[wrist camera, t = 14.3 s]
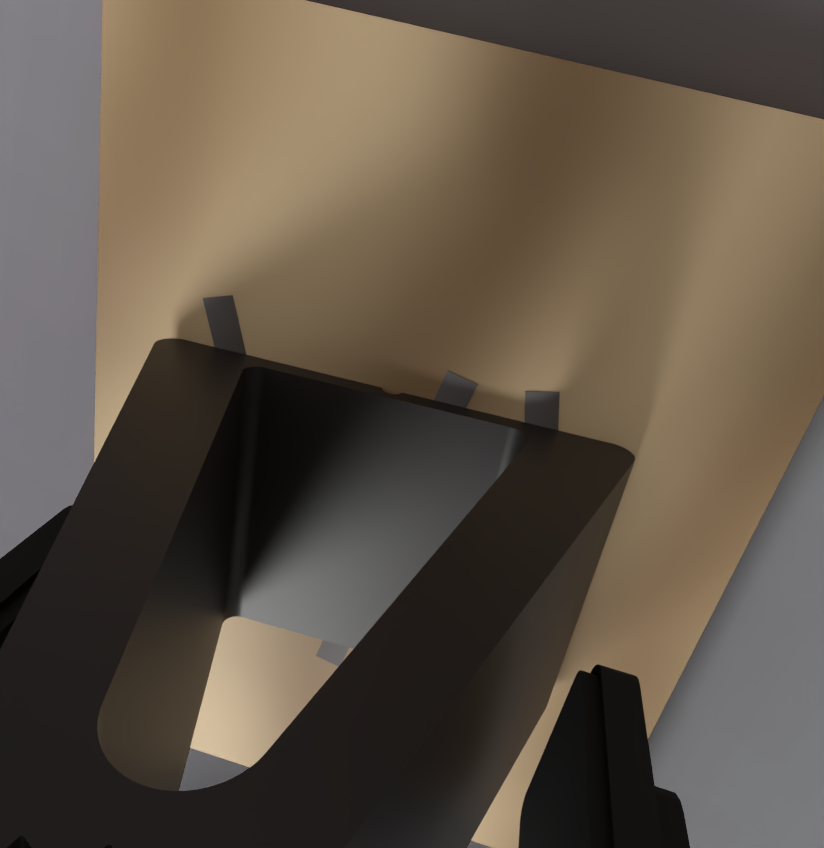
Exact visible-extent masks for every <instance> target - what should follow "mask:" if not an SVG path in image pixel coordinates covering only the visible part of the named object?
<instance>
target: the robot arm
mask: <svg viewBox="0 0 824 848" xmlns="http://www.w3.org/2000/svg"><path fill="white" fill-rule="evenodd" d="M72 506H73V505H72ZM72 506H68V507H67V508H65V509H63V510H62V511H61V512H59V513H58V514H57V515H56V516H54V517H53V518H52V519H51V520H49V521H48V522H47V523H45V524H44V525H43V526H42V527H40V528H39V529H38V530H37V531H35V532H34V533H33V534H31V535H30V536H29V537H28V538H26V539H25V540H24V541H22V542H21V543H20V544H19V545H17V546H16V547H15V548H14V549H12V550H11V551H10V552H8V553H7V554H6V555H5V556H3V557H2V558H1V559H0V649H1V647H2V645H3V643H4V641H5V639H6V637H7V635H8V633H9V631H10V629H11V627H12V625H13V623H14V621H15V619H16V617H17V615H18V613H19V611H20V609H21V607H22V605H23V603H24V601H25V599H26V597H27V595H28V593H29V591H30V589H31V587H32V585H33V583H34V581H35V579H36V577H37V575H38V573H39V571H40V569H41V567H42V565H43V563H44V561H45V559H46V557H47V555H48V553H49V552H50V550H51V548H52V546H53V544H54V542H55V540H56V538H57V536H58V534H59V532H60V530H61V528H62V526H63V524H64V522H65V520H66V518H67V516H68V514H69V512H70V510H71V508H72ZM518 848H690V845H689V840H688V834H687V829H686V823H685V818H684V812H683V809H682V805H681V801H680V799H679V798H678V796H677V795H676V793H674V792H671V791H668V790H665V789H662V788H659V787H656V786H654V780H653V773H652V766H651V759H650V752H649V745H648V738H647V731H646V724H645V717H644V710H643V703H642V696H641V688H640V683H639V679H638V678H637V676H635V675H632V674H628V673H625V672H622V671H619V670H615V669H612V668H609V667H605V666H602V665H599V664H597V665H595V666H594V667H593V669H592V671H591V673H588V672H585V671H582V670H579V671H578V673H577V675H576V676H575V679H574V681H573V683H572V686H571V688H570V691H569V693H568V695H567V698H566V700H565V702H564V705H563V707H562V709H561V712H560V714H559V716H558V719H557V721H556V724H555V726H554V728H553V731H552V733H551V735H550V738H549V740H548V742H547V745H546V747H545V749H544V752H543V754H542V757H541V759H540V761H539V764H538V766H537V768H536V771H535V773H534V775H533V778H532V780H531V782H530V785H529V787H528V790H527V792H526V795H525V797H524V801H523V805H522V810H521V816H520V829H519V847H518Z"/></svg>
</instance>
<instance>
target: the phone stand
mask: <svg viewBox="0 0 824 848" xmlns="http://www.w3.org/2000/svg"><path fill="white" fill-rule="evenodd" d="M634 461H635V456H634V455H633V454H632V453H631V452H630V451H629V450H627V449H625V448H623V447H621V446H619V445H616V444H612V443H608V442H604V441H600V440H596V439H591V438H587V437H583V436H579V435H575V434H571V433H567V432H563V431H559V430H554V429H550V428H546V427H542V426H538V425H534V424H530V423H526V422H521V421H517V420H513V419H509V418H505V417H501V416H497V415H493V414H489V413H484V412H480V411H476V410H472V409H468V408H464V407H460V406H456V405H451V404H447V403H443V402H439V401H435V400H431V399H427V398H423V397H419V396H414V395H410V394H406V393H401V394H389V393H386V392H384V391H383V390H382V388H381V387H377V386H373V385H369V384H365V383H361V382H357V381H353V380H349V379H344V378H340V377H336V376H332V375H328V374H324V373H320V372H316V371H311V370H307V369H303V368H299V367H295V366H291V365H287V364H283V363H278V362H274V361H270V360H266V359H262V358H258V357H254V356H250V355H246V354H241V353H237V352H233V351H229V350H225V349H221V348H217V347H213V346H208V345H204V344H200V343H196V342H192V341H188V340H184V339H176V338H167V339H161V340H158V341H156V342H155V343H154V345H153V347H152V349H151V351H150V353H149V355H148V357H147V359H146V361H145V363H144V365H143V367H142V369H141V371H140V373H139V375H138V377H137V379H136V381H135V383H134V385H133V387H132V389H131V391H130V393H129V395H128V397H127V399H126V401H125V403H124V405H123V407H122V409H121V410H120V412H119V414H118V416H117V418H116V420H115V422H114V424H113V426H112V428H111V430H110V432H109V434H108V436H107V438H106V440H105V442H104V444H103V446H102V448H101V450H100V452H99V454H98V456H97V458H96V460H95V462H94V464H93V466H92V468H91V470H90V472H89V474H88V476H87V478H86V480H85V482H84V484H83V486H82V488H81V490H80V492H79V494H78V496H77V498H76V500H75V502H74V504H73V506H72V508H71V510H70V512H69V514H68V516H67V518H66V520H65V522H64V524H63V526H62V528H61V530H60V532H59V534H58V536H57V538H56V540H55V542H54V544H53V546H52V548H51V550H50V552H49V553H48V555H47V557H46V559H45V561H44V563H43V565H42V567H41V569H40V571H39V573H38V575H37V577H36V579H35V581H34V583H33V585H32V587H31V589H30V591H29V593H28V595H27V597H26V599H25V601H24V603H23V605H22V607H21V609H20V611H19V613H18V615H17V617H16V619H15V621H14V623H13V625H12V627H11V629H10V631H9V633H8V635H7V637H6V639H5V641H4V643H3V645H2V647H1V649H0V848H467V846H468V845H469V843H470V841H471V839H472V838H473V836H474V834H475V832H476V830H477V829H478V827H479V825H480V823H481V822H482V820H483V818H484V816H485V815H486V813H487V811H488V809H489V808H490V806H491V804H492V802H493V801H494V799H495V797H496V795H497V793H498V792H499V790H500V788H501V786H502V785H503V783H504V781H505V779H506V778H507V776H508V774H509V772H510V771H511V769H512V767H513V765H514V764H515V762H516V760H517V758H518V756H519V755H520V753H521V751H522V749H523V748H524V746H525V744H526V742H527V741H528V739H529V737H530V735H531V734H532V732H533V730H534V728H535V727H536V725H537V723H538V721H539V719H540V718H541V716H542V714H543V712H544V711H545V709H546V707H547V704H548V702H549V699H550V696H551V693H552V690H553V688H554V685H555V682H556V679H557V676H558V674H559V671H560V668H561V665H562V662H563V660H564V657H565V654H566V651H567V648H568V646H569V643H570V640H571V637H572V635H573V632H574V629H575V626H576V623H577V621H578V618H579V615H580V612H581V609H582V607H583V604H584V601H585V598H586V595H587V593H588V590H589V587H590V584H591V581H592V579H593V576H594V573H595V570H596V567H597V565H598V562H599V559H600V556H601V554H602V551H603V548H604V545H605V542H606V540H607V537H608V534H609V531H610V528H611V526H612V523H613V520H614V517H615V514H616V512H617V509H618V506H619V503H620V500H621V498H622V495H623V492H624V489H625V487H626V484H627V481H628V478H629V475H630V473H631V470H632V467H633V464H634ZM235 616H238V617H243V618H247V619H250V620H254V621H257V622H261V623H264V624H268V625H271V626H275V627H279V628H282V629H286V630H289V631H293V632H296V633H300V634H303V635H307V636H310V637H314V638H317V639H321V640H325V641H328V642H332V643H335V644H339V645H342V646H346V647H349V648H353V650H352V651H351V653H350V654H349V655H348V656H347V657H346V658H345V660H344V661H343V662H342V663H341V664H340V666H339V667H338V668H337V669H336V670H335V671H334V673H333V674H332V675H331V676H330V677H329V679H328V680H327V681H326V682H325V683H324V684H323V686H322V687H321V688H320V689H319V690H318V692H317V693H316V694H315V695H314V696H313V697H312V699H311V700H310V701H309V702H308V703H307V705H306V706H305V707H304V708H303V709H302V710H301V712H300V713H299V714H298V715H297V716H296V718H295V719H294V720H293V721H292V722H291V724H290V725H289V726H288V727H287V728H286V729H285V731H284V732H283V733H282V734H281V735H280V737H279V738H278V739H277V740H276V741H275V742H274V744H273V745H272V746H271V747H270V748H269V750H268V751H267V752H266V753H265V754H264V755H263V756H262V757H261V758H260V759H259V760H258V761H257V762H256V763H255V764H254V765H253V766H251V767H250V768H249V769H247V770H246V771H244V772H243V773H241V774H240V775H238V776H236V777H234V778H232V779H230V780H228V781H226V782H223V783H221V784H218V785H215V786H211V787H208V788H203V789H198V790H190V791H179V788H180V784H181V780H182V776H183V772H184V769H185V765H186V761H187V757H188V753H189V750H190V746H191V742H192V738H193V734H194V730H195V727H196V723H197V719H198V715H199V711H200V707H201V704H202V700H203V696H204V692H205V688H206V685H207V681H208V677H209V673H210V669H211V665H212V662H213V658H214V654H215V650H216V646H217V642H218V639H219V635H220V631H221V627H222V624H223V622H224V621H225V620H226V619H228V618H230V617H235Z"/></svg>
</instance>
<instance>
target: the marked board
mask: <svg viewBox="0 0 824 848" xmlns="http://www.w3.org/2000/svg"><path fill="white" fill-rule="evenodd" d="M167 338H176V339H184V340H188V341H192V342H196V343H200V344H204V345H208V346H213V347H217V348H221V349H225V350H229V351H233V352H237V353H241V354H246V355H250V356H254V357H258V358H262V359H266V360H270V361H274V362H278V363H283V364H287V365H291V366H295V367H299V368H303V369H307V370H311V371H316V372H320V373H324V374H328V375H332V376H336V377H340V378H344V379H349V380H353V381H357V382H361V383H365V384H369V385H373V386H377V387H381V388H382V390H383V391H384V392H386V393H389V394H401V393H406V394H410V395H414V396H419V397H423V398H427V399H431V400H435V401H439V402H443V403H447V404H451V405H456V406H460V407H464V408H468V409H472V410H476V411H480V412H484V413H489V414H493V415H497V416H501V417H505V418H509V419H513V420H517V421H521V422H526V423H530V424H534V425H538V426H542V427H546V428H550V429H554V430H559V431H563V432H567V433H571V434H575V435H579V436H583V437H587V438H591V439H596V440H600V441H604V442H608V443H612V444H616V445H619V446H621V447H623V448H625V449H627V450H629V451H630V452H631V453H632V454H633V455H634V456H635V461H634V464H633V467H632V470H631V473H630V475H629V478H628V481H627V484H626V487H625V489H624V492H623V495H622V498H621V500H620V503H619V506H618V509H617V512H616V514H615V517H614V520H613V523H612V526H611V528H610V531H609V534H608V537H607V540H606V542H605V545H604V548H603V551H602V554H601V556H600V559H599V562H598V565H597V567H596V570H595V573H594V576H593V579H592V581H591V584H590V587H589V590H588V593H587V595H586V598H585V601H584V604H583V607H582V609H581V612H580V615H579V618H578V621H577V623H576V626H575V629H574V632H573V635H572V637H571V640H570V643H569V646H568V648H567V651H566V654H565V657H564V660H563V662H562V665H561V668H560V671H559V674H558V676H557V679H556V682H555V685H554V688H553V690H552V693H551V696H550V699H549V702H548V704H547V707H546V709H545V711H544V712H543V714H542V716H541V718H540V719H539V721H538V723H537V725H536V727H535V728H534V730H533V732H532V734H531V735H530V737H529V739H528V741H527V742H526V744H525V746H524V748H523V749H522V751H521V753H520V755H519V756H518V758H517V760H516V762H515V764H514V765H513V767H512V769H511V771H510V772H509V774H508V776H507V778H506V779H505V781H504V783H503V785H502V786H501V788H500V790H499V792H498V793H497V795H496V797H495V799H494V801H493V802H492V804H491V806H490V808H489V809H488V811H487V813H486V815H485V816H484V818H483V820H482V822H481V823H480V825H479V827H478V829H477V830H476V832H475V834H474V836H473V838H472V839H471V841H474V842H477V843H480V844H483V845H486V846H489V847H492V848H518V847H519V829H520V816H521V810H522V805H523V801H524V797H525V795H526V792H527V790H528V787H529V785H530V782H531V780H532V778H533V775H534V773H535V771H536V768H537V766H538V764H539V761H540V759H541V757H542V754H543V752H544V749H545V747H546V745H547V742H548V740H549V738H550V735H551V733H552V731H553V728H554V726H555V724H556V721H557V719H558V716H559V714H560V712H561V709H562V707H563V705H564V702H565V700H566V698H567V695H568V693H569V691H570V688H571V686H572V683H573V681H574V679H575V676H576V675H577V673H578V671H579V670H582V671H585V672H588V673H591V671H592V669H593V667H594V666H595V665H597V664H599V665H602V666H605V667H609V668H612V669H615V670H619V671H622V672H625V673H628V674H632V675H635V676H637V678H638V679H639V683H640V688H641V696H642V703H643V710H644V717H645V724H646V731H647V738H649V736H650V734H651V732H652V730H653V728H654V726H655V725H656V723H657V721H658V719H659V717H660V715H661V713H662V711H663V709H664V707H665V705H666V703H667V701H668V699H669V697H670V695H671V693H672V691H673V689H674V687H675V685H676V684H677V682H678V680H679V678H680V676H681V674H682V672H683V670H684V668H685V666H686V664H687V662H688V660H689V658H690V656H691V654H692V652H693V650H694V648H695V646H696V644H697V642H698V641H699V639H700V637H701V635H702V633H703V631H704V629H705V627H706V625H707V623H708V621H709V619H710V617H711V615H712V613H713V611H714V609H715V607H716V605H717V603H718V601H719V600H720V598H721V596H722V594H723V592H724V590H725V588H726V586H727V584H728V582H729V580H730V578H731V576H732V574H733V572H734V570H735V568H736V566H737V564H738V562H739V560H740V558H741V557H742V555H743V553H744V551H745V549H746V547H747V545H748V543H749V541H750V539H751V537H752V535H753V533H754V531H755V529H756V527H757V525H758V523H759V521H760V519H761V517H762V516H763V514H764V512H765V510H766V508H767V506H768V504H769V502H770V500H771V498H772V496H773V494H774V492H775V490H776V488H777V486H778V484H779V482H780V480H781V478H782V476H783V474H784V473H785V471H786V469H787V467H788V465H789V463H790V461H791V459H792V457H793V455H794V453H795V451H796V449H797V447H798V445H799V443H800V441H801V439H802V437H803V435H804V433H805V432H806V430H807V428H808V426H809V424H810V422H811V420H812V418H813V416H814V414H815V412H816V410H817V408H818V406H819V404H820V402H821V400H822V398H823V396H824V119H820V118H816V117H811V116H807V115H803V114H798V113H794V112H789V111H785V110H781V109H776V108H772V107H768V106H763V105H759V104H755V103H750V102H746V101H742V100H737V99H733V98H729V97H724V96H720V95H716V94H711V93H707V92H702V91H698V90H694V89H689V88H685V87H681V86H676V85H672V84H668V83H663V82H659V81H655V80H650V79H646V78H642V77H637V76H633V75H628V74H624V73H620V72H615V71H611V70H607V69H602V68H598V67H594V66H589V65H585V64H581V63H576V62H572V61H568V60H563V59H559V58H555V57H550V56H546V55H541V54H537V53H533V52H528V51H524V50H520V49H515V48H511V47H507V46H502V45H498V44H494V43H489V42H485V41H481V40H476V39H472V38H468V37H463V36H459V35H454V34H450V33H446V32H441V31H437V30H433V29H428V28H424V27H420V26H415V25H411V24H407V23H402V22H398V21H394V20H389V19H385V18H381V17H376V16H372V15H367V14H363V13H359V12H354V11H350V10H346V9H341V8H337V7H333V6H328V5H324V4H320V3H315V2H311V1H307V0H103V9H102V64H101V118H100V172H99V226H98V280H97V335H96V389H95V443H94V462H95V460H96V458H97V456H98V454H99V452H100V450H101V448H102V446H103V444H104V442H105V440H106V438H107V436H108V434H109V432H110V430H111V428H112V426H113V424H114V422H115V420H116V418H117V416H118V414H119V412H120V410H121V409H122V407H123V405H124V403H125V401H126V399H127V397H128V395H129V393H130V391H131V389H132V387H133V385H134V383H135V381H136V379H137V377H138V375H139V373H140V371H141V369H142V367H143V365H144V363H145V361H146V359H147V357H148V355H149V353H150V351H151V349H152V347H153V345H154V343H155V342H156V341H158V340H161V339H167ZM352 650H353V648H349V647H346V646H342V645H339V644H335V643H332V642H328V641H325V640H321V639H317V638H314V637H310V636H307V635H303V634H300V633H296V632H293V631H289V630H286V629H282V628H279V627H275V626H271V625H268V624H264V623H261V622H257V621H254V620H250V619H247V618H243V617H238V616H235V617H230V618H228V619H226V620H225V621H224V622H223V624H222V627H221V631H220V635H219V639H218V642H217V646H216V650H215V654H214V658H213V662H212V665H211V669H210V673H209V677H208V681H207V685H206V688H205V692H204V696H203V700H202V704H201V707H200V711H199V715H198V719H197V723H196V727H195V730H194V734H193V738H192V742H191V746H190V748H193V749H196V750H199V751H202V752H205V753H208V754H211V755H214V756H217V757H220V758H223V759H226V760H229V761H232V762H235V763H238V764H241V765H244V766H247V767H251V766H253V765H254V764H255V763H256V762H257V761H258V760H259V759H260V758H261V757H262V756H263V755H264V754H265V753H266V752H267V751H268V750H269V748H270V747H271V746H272V745H273V744H274V742H275V741H276V740H277V739H278V738H279V737H280V735H281V734H282V733H283V732H284V731H285V729H286V728H287V727H288V726H289V725H290V724H291V722H292V721H293V720H294V719H295V718H296V716H297V715H298V714H299V713H300V712H301V710H302V709H303V708H304V707H305V706H306V705H307V703H308V702H309V701H310V700H311V699H312V697H313V696H314V695H315V694H316V693H317V692H318V690H319V689H320V688H321V687H322V686H323V684H324V683H325V682H326V681H327V680H328V679H329V677H330V676H331V675H332V674H333V673H334V671H335V670H336V669H337V668H338V667H339V666H340V664H341V663H342V662H343V661H344V660H345V658H346V657H347V656H348V655H349V654H350V653H351V651H352Z"/></svg>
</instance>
